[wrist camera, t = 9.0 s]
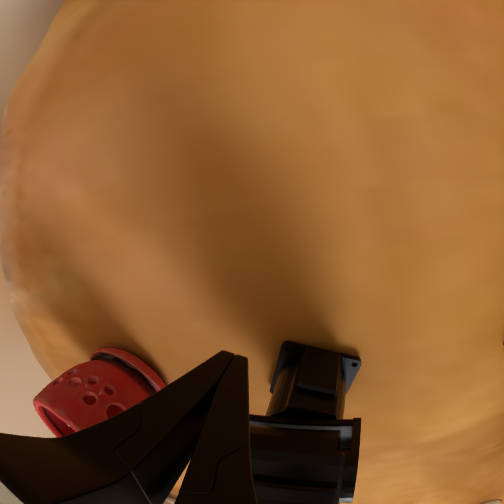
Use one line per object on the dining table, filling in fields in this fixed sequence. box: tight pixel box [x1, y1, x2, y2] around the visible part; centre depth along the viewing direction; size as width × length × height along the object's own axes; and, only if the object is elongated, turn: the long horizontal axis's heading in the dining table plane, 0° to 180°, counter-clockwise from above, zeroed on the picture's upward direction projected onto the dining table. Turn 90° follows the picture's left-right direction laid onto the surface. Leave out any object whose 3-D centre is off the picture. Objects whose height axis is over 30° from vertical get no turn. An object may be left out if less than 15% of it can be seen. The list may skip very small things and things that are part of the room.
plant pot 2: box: [33, 347, 166, 437], centre depth 27 cm, size 13×13×12 cm
